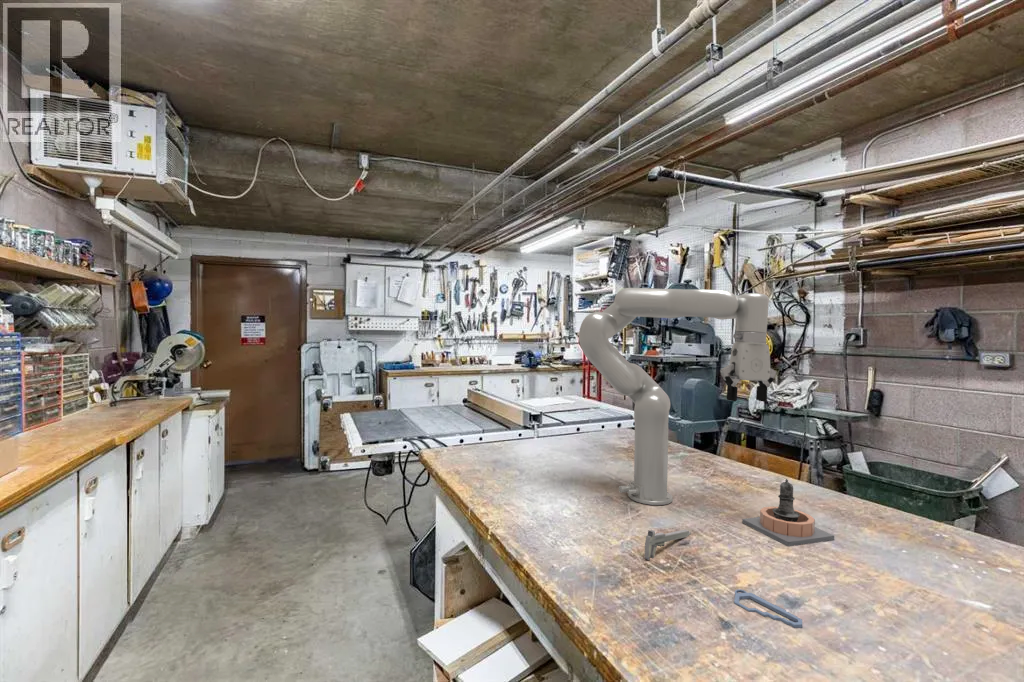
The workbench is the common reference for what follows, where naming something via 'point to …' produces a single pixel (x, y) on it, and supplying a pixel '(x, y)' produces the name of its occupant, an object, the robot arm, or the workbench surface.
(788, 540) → the shaker holder
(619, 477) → the workbench surface
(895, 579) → the workbench surface
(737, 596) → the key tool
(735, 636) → the workbench surface
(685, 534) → the caliper
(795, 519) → the dark flared piece
